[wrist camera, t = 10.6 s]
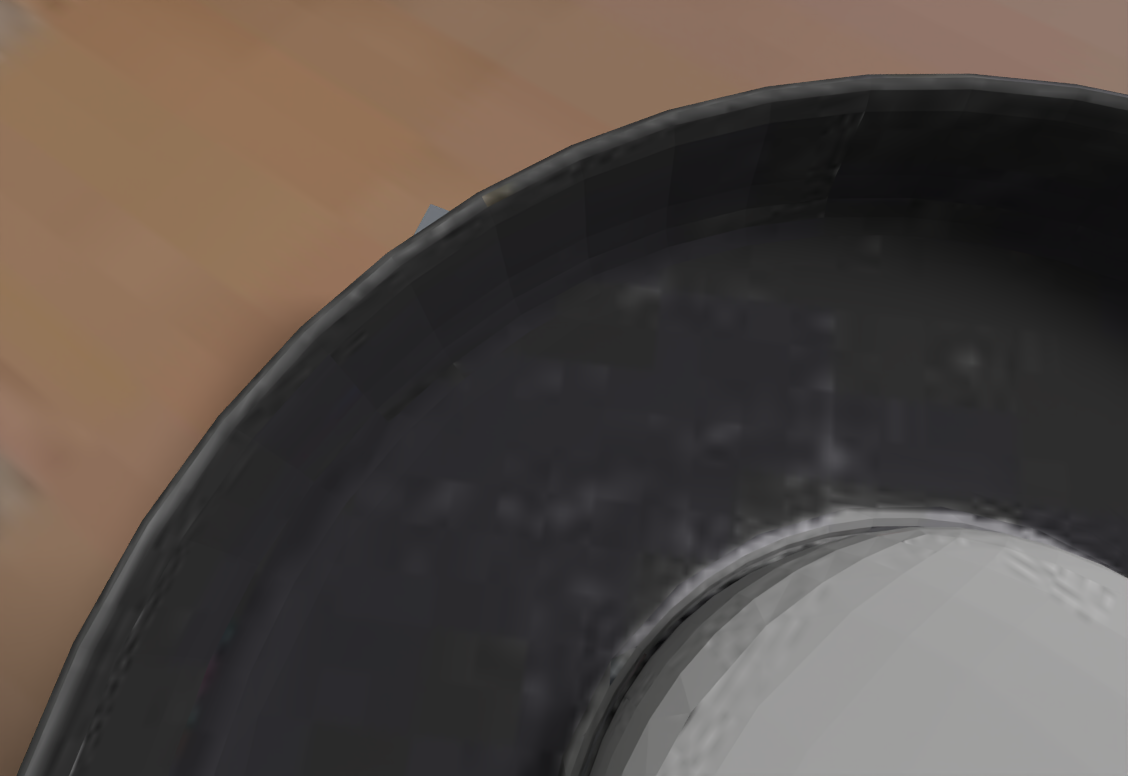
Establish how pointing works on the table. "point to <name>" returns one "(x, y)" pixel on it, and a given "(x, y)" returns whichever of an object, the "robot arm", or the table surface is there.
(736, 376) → the travel mug
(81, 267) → the table surface
